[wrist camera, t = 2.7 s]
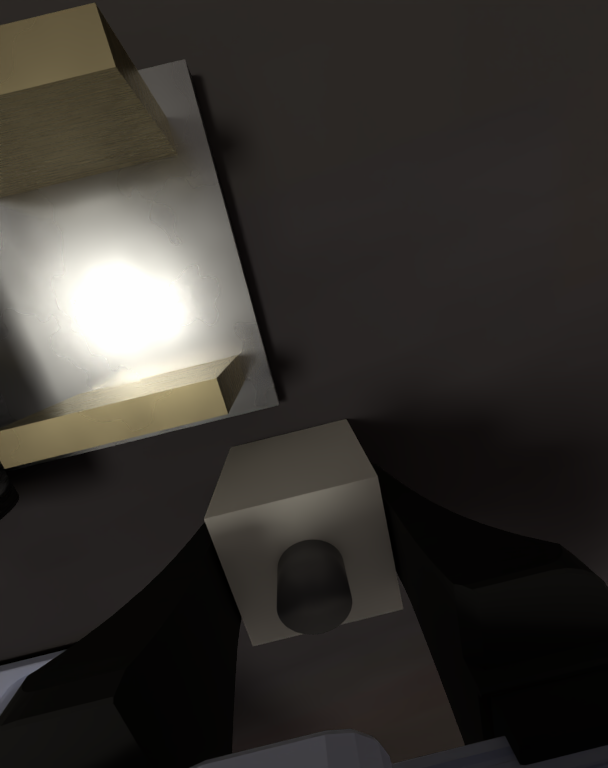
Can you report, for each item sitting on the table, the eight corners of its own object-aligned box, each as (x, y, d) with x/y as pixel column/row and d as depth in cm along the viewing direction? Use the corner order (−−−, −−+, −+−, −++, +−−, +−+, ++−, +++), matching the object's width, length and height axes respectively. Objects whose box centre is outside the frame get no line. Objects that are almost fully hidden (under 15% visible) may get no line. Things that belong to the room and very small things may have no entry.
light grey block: (367, 517, 14) (419, 650, 9) (262, 542, 14) (248, 692, 9) (346, 418, 13) (392, 503, 7) (230, 447, 13) (191, 552, 7)
